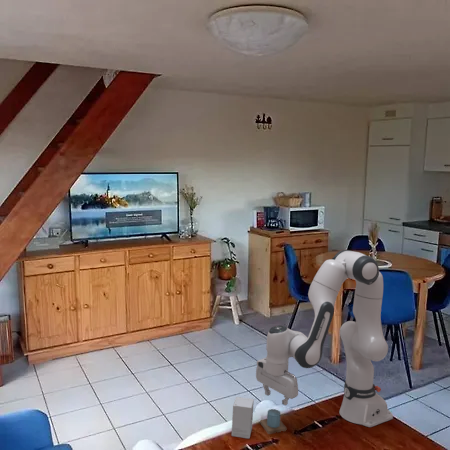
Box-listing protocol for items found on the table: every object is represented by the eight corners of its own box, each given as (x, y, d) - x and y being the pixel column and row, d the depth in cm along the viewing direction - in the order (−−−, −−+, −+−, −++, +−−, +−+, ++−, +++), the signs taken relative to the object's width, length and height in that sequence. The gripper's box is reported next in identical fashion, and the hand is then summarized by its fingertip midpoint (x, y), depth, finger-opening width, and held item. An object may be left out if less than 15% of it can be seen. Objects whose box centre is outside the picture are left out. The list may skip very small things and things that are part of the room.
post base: (277, 420, 186) (278, 409, 186) (286, 430, 179) (287, 420, 178) (259, 423, 184) (260, 412, 183) (268, 434, 176) (268, 423, 176)
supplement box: (249, 439, 173) (251, 408, 171) (231, 436, 174) (232, 405, 172) (252, 428, 180) (254, 398, 178) (234, 425, 181) (235, 396, 180)
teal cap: (273, 419, 185) (273, 407, 184) (282, 424, 181) (282, 413, 180) (264, 423, 182) (265, 411, 181) (273, 429, 178) (274, 417, 177)
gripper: (302, 373, 172) (301, 407, 174) (264, 356, 188) (264, 387, 190) (291, 378, 168) (290, 413, 170) (253, 360, 184) (253, 392, 186)
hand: (276, 399), depth 180 cm, fingers open, 8 cm apart
